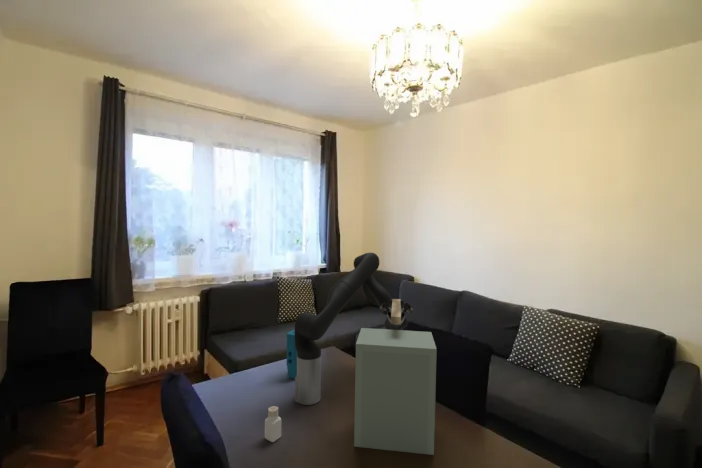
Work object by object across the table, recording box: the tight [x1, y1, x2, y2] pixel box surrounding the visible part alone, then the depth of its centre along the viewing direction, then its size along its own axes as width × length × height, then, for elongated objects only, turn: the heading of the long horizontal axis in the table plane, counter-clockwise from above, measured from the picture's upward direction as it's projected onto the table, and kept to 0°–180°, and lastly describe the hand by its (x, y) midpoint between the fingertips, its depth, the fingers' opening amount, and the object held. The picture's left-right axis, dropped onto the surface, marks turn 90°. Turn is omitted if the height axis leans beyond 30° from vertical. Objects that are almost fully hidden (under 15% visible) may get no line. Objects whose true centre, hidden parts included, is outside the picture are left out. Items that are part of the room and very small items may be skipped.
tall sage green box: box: [353, 327, 438, 456], centre depth 111 cm, size 24×16×32 cm, turn 82°
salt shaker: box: [264, 405, 282, 443], centre depth 109 cm, size 4×4×10 cm
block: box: [286, 329, 297, 380], centre depth 154 cm, size 12×5×20 cm, turn 153°
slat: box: [391, 298, 402, 324], centre depth 125 cm, size 3×26×2 cm, turn 172°
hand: (396, 302), depth 131 cm, fingers closed on slat, 3 cm apart
